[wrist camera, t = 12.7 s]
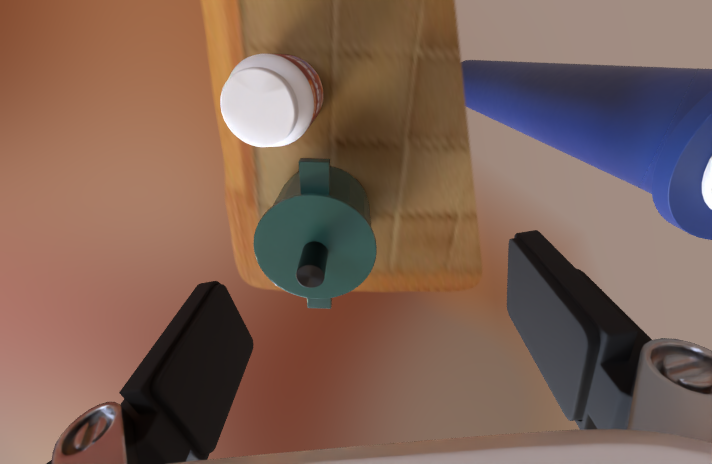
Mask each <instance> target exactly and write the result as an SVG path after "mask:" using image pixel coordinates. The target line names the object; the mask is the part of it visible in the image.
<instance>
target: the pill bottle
mask: <svg viewBox="0 0 712 464" xmlns="http://www.w3.org/2000/svg"><path fill="white" fill-rule="evenodd" d="M322 103H323V87H322V83H321V80H320V78H319V76H318V74H317V72H316V71H315V70H314V68H313V67H312V66H311V65H310V64H308V63H307V62H306V61H304V60H303V59H301V58H298V57H296V56H292V55H282V54H257V55H253V56H250V57H248V58H246V59H244V60H243V61H241V62H240V63H239V64H238V65H237V66H236V67H235V68H234V69H233V71H232V72H231V74H230V76H229V79H228V80H227V81H226V83H225V85H224V87H223V89H222V93H221V99H220V104H221V111H222V115H223V118H224V120H225V122H226V124H227V126H228V127H229V129H230V130H231V131H232V132H233V133H234V134H235V135H236V136H237V137H238V138H239V139H241V140H242V141H244V142H246V143H248V144H250V145H253V146H258V147H269V146H273V147H277V146H284V145H288V144H290V143H292V142H294V141H296V140H297V139H299V138H300V137H301V136H302V135H303V134H304V133H305V132H306V130H307V129H308V128H309V126H310V125H311V123H312V122H313V121H314V119H315V118H316V117H317V115H318V114H319V112H320V109H321V107H322Z"/></svg>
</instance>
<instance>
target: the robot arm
mask: <svg viewBox="0 0 712 464" xmlns="http://www.w3.org/2000/svg"><path fill="white" fill-rule="evenodd" d="M702 195H703V198H704V201H705V203H706V204H707V205H708V207H709V208H710V209H711V210H712V156H711V158H710V160H709V162H708V164H707V166H706V169H705V171H704V175H703V180H702ZM507 284H508V285H507V286H508V287H507V310H508V313H509V316H510V318H511V320H512V321H513V323H514V325H515V327H516V329H517V330H518V332H519V334H520V335H521V337H522V339H523V341H524V343H525V345H526V346H527V348H528V350H529V352H530V353H531V355H532V357H533V359H534V361H535V363H536V364H537V366H538V368H539V370H540V371H541V373H542V375H543V377H544V379H545V381H546V382H547V384H548V386H549V388H550V389H551V391H552V393H553V395H554V397H555V398H556V400H557V402H558V404H559V405H560V407H561V409H562V411H563V413H564V414H565V416H566V417H567V419H568V420H570V421H573V420H575V421H576V423H577V425H578V427H579V428H580V430H562V431H548V432H531V433H517V434H501V435H488V436H476V437H463V438H451V439H439V440H426V441H414V442H402V443H390V444H379V445H367V446H355V447H344V448H332V449H320V450H310V451H297V452H286V453H275V454H264V455H253V456H242V457H231V458H221V459H210V460H207V458H208V456H209V453H211V452H212V451H213V450H214V449H215V447H216V445H217V442H218V440H219V437H220V434H221V431H222V429H223V426H224V424H225V421H226V419H227V416H228V413H229V411H230V408H231V405H232V403H233V400H234V398H235V395H236V392H237V390H238V387H239V384H240V382H241V379H242V377H243V374H244V371H245V369H246V366H247V363H248V361H249V358H250V355H251V353H252V350H253V339H252V337H251V335H250V333H249V331H248V329H247V327H246V325H245V324H244V322H243V320H242V318H241V316H240V314H239V312H238V310H237V308H236V306H235V304H234V302H233V300H232V298H231V296H230V294H229V292H228V290H227V288H226V287H225V286H224V285H222V284H220V283H219V282H217V281H213V282H207V283H201V284H199V285H197V287H196V288H195V289H194V291H193V292H192V293H191V295H190V296H189V298H188V299H187V300H186V302H185V303H184V305H183V306H182V307H181V309H180V310H179V311H178V313H177V314H176V315H175V317H174V318H173V320H172V321H171V322H170V324H169V325H168V326H167V328H166V329H165V331H164V332H163V333H162V335H161V336H160V337H159V339H158V340H157V342H156V343H155V344H154V346H153V347H152V348H151V350H150V351H149V353H148V354H147V355H146V357H145V358H144V359H143V361H142V362H141V364H140V365H139V366H138V368H137V369H136V370H135V372H134V373H133V375H132V376H131V377H130V379H129V380H128V382H127V383H126V384H125V386H124V387H123V388H122V390H121V391H120V394H121V395H122V396H123V397H124V400H123V402H122V403H121V405H120V404H118V403H116V402H106V403H103V404H99V405H97V406H95V407H93V408H91V409H89V410H88V411H86V412H85V413H84V414H82V415H81V416H79V417H78V418H77V419H76V420H75V421H74V422H73V423H71V424H70V425H69V426H68V428H67V429H66V430H65V431H64V432H63V433H62V434H61V436H60V438H59V439H58V441H57V442H56V444H55V448H54V450H53V455H52V460H51V461H50V462H48V463H47V464H712V351H711V350H709V349H707V348H705V347H702V346H700V345H697V344H694V343H691V342H687V341H683V340H678V339H667V338H661V339H656V340H652V339H651V338H650V337H649V336H647V334H645V332H644V331H643V330H641V329H640V328H639V327H638V326H637V325H636V324H635V323H634V322H633V321H632V320H631V319H630V318H629V317H628V316H627V315H626V314H625V313H624V312H623V311H622V310H621V309H620V308H619V307H618V306H617V305H616V304H615V303H614V302H613V301H612V300H611V299H610V298H609V297H608V296H607V295H606V294H605V293H604V292H603V291H602V290H601V289H600V288H599V287H598V286H597V285H596V284H595V283H594V282H593V281H592V280H591V279H590V278H589V277H588V276H587V275H586V274H585V273H584V272H582V271H581V270H579V269H576V268H575V267H574V266H573V265H572V264H571V263H570V262H569V261H567V259H566V258H565V257H564V256H563V255H562V254H561V253H560V252H559V251H558V250H557V249H556V248H554V246H553V245H552V244H551V243H550V242H549V241H548V240H547V239H546V238H545V237H544V236H543V235H542V234H541V233H540V232H538V231H537V230H535V231H528V232H522V233H517V234H516V235H515V238H514V239H510V240H509V253H508V283H507Z"/></svg>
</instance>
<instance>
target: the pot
mask: <svg viewBox="0 0 712 464" xmlns="http://www.w3.org/2000/svg"><path fill="white" fill-rule="evenodd" d="M304 193H319V194H326V195H330V196H333V197H336V198H339V199H341V200H343V201H345V202H347V203H349V204H350V205H352V206H354V207H355V208H356V209H357V210H358V211H359V212H361V214H362V215H363V216H364V217H365V218H366V219H367V221H368V222H369V224H370V226H371V221H370V209H369V202H368V199H367V196H366V193H365V191H364V189H363V187H362V186H361V184H360V183H359V182H358V181H357V180H356V179H355V178H354V177H353V176H352V175H350V174H349V173H347V172H345V171H343V170H341V169H338V168H335V167H331V166H330V159H312V158H301V159H300V160H299V172H298V173H297V174H295V175H294V176H293V177H292V178H291V179H290V180H289V181H288V182H287V183H286V184H285V185H284V187H283V189H282V190H281V192H280V194H279V196H278V198H277V199H276V201H275V203H274V204H276V203H278V202H279V201H281V200H283V199H285V198H288V197H290V196H294V195H298V194H304ZM331 304H332V298H326V299H313V298H307V305H308V306H307V307H308V308H331Z"/></svg>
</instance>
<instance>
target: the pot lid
mask: <svg viewBox="0 0 712 464" xmlns="http://www.w3.org/2000/svg"><path fill="white" fill-rule="evenodd" d="M254 252H255V256H256V259H257V262H258V264H259V266H260V268H261V269H262V271H263V272H264V273H265V275H266V276H267V277H268V278H269V279H270V280H271V281H272V282H273V283H274V284H276V285H277V286H279V287H280V288H282V289H283V290H285V291H287V292H289V293H292V294H294V295H297V296H301V297H305V298H313V299H326V298H333V297H337V296H340V295H343V294H345V293H348V292H350V291H352V290H353V289H355V288H356V287H358V286H359V285H360V284H361V283H362V282H363V281H364V280H365V279H366V278H367V277H368V275H369V274H370V272H371V270H372V268H373V266H374V263H375V259H376V240H375V236H374V233H373V230H372V228H371V226H370V224H369V222H368V221H367V219H366V218H365V217H364V216H363V215H362V214H361V212H359V211H358V210H357V209H356V208H355V207H354V206H352V205H350V204H349V203H347V202H345V201H343V200H341V199H339V198H336V197H333V196H330V195H326V194H319V193H304V194H298V195H294V196H290V197H288V198H285V199H283V200H281V201H279V202H278V203H276V204H274V205H273V206H272V207H271V208H270V209H269V210H268V211H267V212H266V213H265V214H264V215H263V217H262V218H261V220H260V222H259V223H258V226H257V228H256V231H255V235H254Z"/></svg>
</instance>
